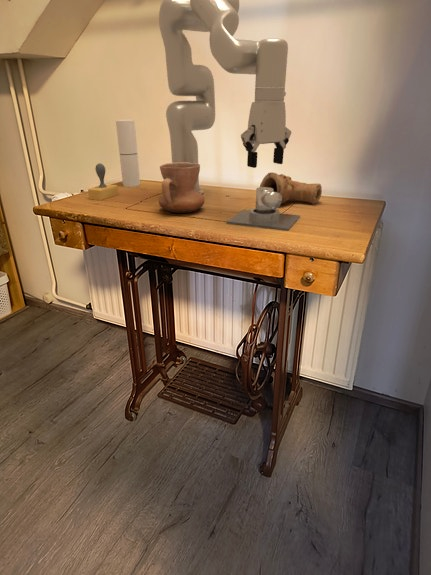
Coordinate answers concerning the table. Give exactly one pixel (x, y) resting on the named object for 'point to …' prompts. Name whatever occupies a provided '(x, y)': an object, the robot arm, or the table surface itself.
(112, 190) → the rubber stamp
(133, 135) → the cylindrical container
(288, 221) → the flange
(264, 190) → the grey rounded piece
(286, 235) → the table surface
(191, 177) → the ceramic jug
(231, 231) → the table surface
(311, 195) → the clay pipe
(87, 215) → the table surface
